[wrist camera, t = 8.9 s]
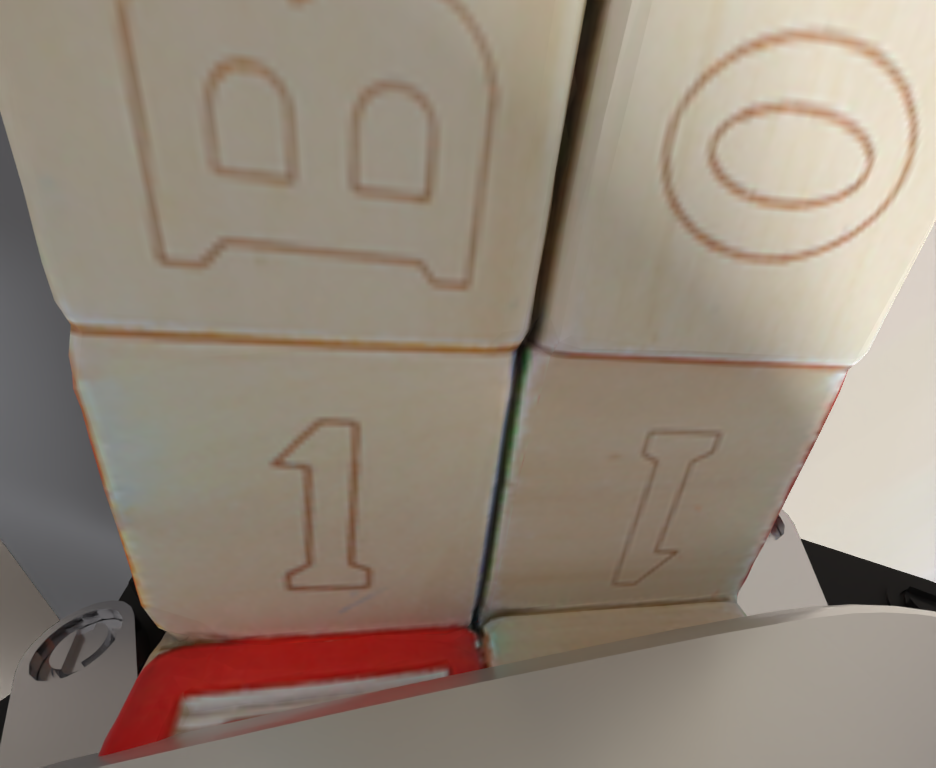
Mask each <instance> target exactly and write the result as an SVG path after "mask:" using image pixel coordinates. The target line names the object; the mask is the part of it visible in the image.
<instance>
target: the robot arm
mask: <svg viewBox="0 0 936 768" xmlns="http://www.w3.org/2000/svg"><path fill="white" fill-rule="evenodd" d="M128 583H129V584H128V586H127V587H126V589H125V590H124V592H123V594H122V595H121V597H120V598H119V600H118V601H115V600H110V601H104V602H99V603H95V604H92V605H90V606H87V607H84V608H82V609H79V610H78V611H76V612H74V613H72V614H70V615H68V616H67V617H65V618H63V619H62V620H60V621H59V622H57V623H56V624H55V625H53V626H52V627H50V628H49V629H48V630H46V631H45V632H44V633H43V634H42V635H41V636H40V637H39V638H38V639H37V640H36V641H35V642H34V643H33V644H32V645H31V646H30V647H29V649H28V650H27V651H26V653H25V654H24V655H23V657H22V658H21V659H20V662H19V664H18V667H17V669H16V671H15V675H14V680H13V684H12V689H11V694H10V695H8V696H7V697H6V698H4V699H3V700H1V701H0V768H936V583H934V582H932V581H929V580H926V579H923V578H920V577H917V576H914V575H911V574H908V573H905V572H901V571H898V570H895V569H892V568H889V567H886V566H883V565H880V564H877V563H874V562H871V561H868V560H865V559H861V558H858V557H855V556H852V555H849V554H846V553H843V552H840V551H837V550H834V549H831V548H828V547H824V546H821V545H818V544H815V543H812V542H809V541H806V540H803V539H800V537H799V534H798V532H797V529H796V527H795V525H794V523H793V521H792V520H791V518H790V517H789V515H788V514H787V513H785V512H784V511H783V510H782V509H781V511H780V513H779V515H778V517H777V519H776V521H775V523H774V525H773V527H772V529H771V531H770V533H769V535H768V538H767V540H766V542H765V544H764V546H763V547H762V549H761V551H760V553H759V555H758V556H757V558H756V560H755V562H754V564H753V566H752V568H751V570H750V572H749V575H748V577H747V579H746V581H745V582H744V584H743V585H742V587H741V589H740V590H739V593H738V596H737V603H738V605H739V606H740V607H741V609H742V610H743V611H744V612H745V614H746V615H747V616H745V617H739V618H734V619H728V620H723V621H718V622H712V623H707V624H701V625H696V626H691V627H685V628H680V629H675V630H670V631H665V632H660V633H655V634H650V635H645V636H640V637H635V638H630V639H626V640H621V641H616V642H611V643H606V644H601V645H596V646H591V647H586V648H581V649H577V650H572V651H567V652H562V653H557V654H552V655H547V656H542V657H537V658H532V659H528V660H523V661H518V662H513V663H509V664H504V665H499V666H494V667H489V668H485V669H480V670H475V671H470V672H465V673H461V674H456V675H451V676H446V677H442V678H437V679H432V680H427V681H423V682H418V683H413V684H408V685H404V686H399V687H394V688H389V689H385V690H380V691H375V692H370V693H366V694H361V695H356V696H351V697H347V698H342V699H337V700H333V701H328V702H323V703H319V704H314V705H310V706H305V707H300V708H296V709H291V710H286V711H282V712H277V713H272V714H268V715H263V716H259V717H254V718H249V719H245V720H240V721H235V722H231V723H226V724H221V725H217V726H212V727H208V728H203V729H198V730H194V731H189V732H184V733H180V734H176V735H174V736H171V737H168V738H165V739H162V740H160V741H157V742H153V743H150V744H146V745H142V746H138V747H135V748H131V749H128V750H124V751H120V752H116V753H112V754H108V755H104V756H98V755H99V753H100V750H101V748H102V745H103V742H104V740H105V738H106V736H107V734H108V733H109V731H110V729H111V727H112V726H113V724H114V722H115V720H116V719H117V717H118V715H119V713H120V711H121V709H122V707H123V705H124V703H125V701H126V699H127V697H128V695H129V693H130V691H131V689H132V687H133V685H134V683H135V681H136V679H137V678H138V676H139V674H140V672H141V670H142V669H143V667H144V665H145V663H146V661H147V660H148V658H149V656H150V654H151V653H152V652H153V651H154V649H155V648H156V647H157V645H158V644H159V643H160V642H161V640H162V638H163V636H164V634H165V632H166V631H164V630H162V629H160V628H158V627H157V625H156V624H155V623H154V621H153V620H152V619H151V618H150V616H149V615H148V614H147V612H146V611H145V610H144V608H143V607H142V606H141V603H140V600H139V597H138V593H137V590H136V587H135V583H134V580H133V577H131V579H130V580H129V582H128Z"/></svg>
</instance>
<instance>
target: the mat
mask: <svg viewBox="0 0 936 768" xmlns="http://www.w3.org/2000/svg"><path fill="white" fill-rule="evenodd" d="M70 329H71V324H70V323H69V321H68V320H67V318H66V317H65V316H64V314H63V313H62V311H61V310H60V308H59V307H58V305H57V304H56V302H55V301H54V298H53V295H52V292H51V289H50V286H49V283H48V280H47V277H46V274H45V271H44V267H43V264H42V261H41V258H40V254H39V250H38V246H37V242H36V238H35V234H34V230H33V226H32V222H31V218H30V214H29V210H28V207H27V203H26V199H25V195H24V191H23V187H22V184H21V180H20V177H19V174H18V170H17V167H16V163H15V160H14V157H13V153H12V150H11V146H10V143H9V140H8V136H7V133H6V129H5V126H4V123H3V119H2V116H1V112H0V539H1V541H2V542H3V543H4V545H5V546H6V547H7V549H8V550H9V552H10V553H11V554H12V556H13V557H14V558H15V560H16V561H17V562H18V564H19V565H20V566H21V568H22V569H23V571H24V572H25V573H26V575H27V576H28V577H29V579H30V580H31V581H32V583H33V584H34V585H35V587H36V588H37V590H38V591H39V592H40V594H41V595H42V596H43V598H44V599H45V600H46V602H47V603H48V604H49V606H50V607H51V608H52V610H53V611H54V613H55V614H56V615H57V617H58V618H59V619H60V620H62V619H63V618H65V617H67V616H68V615H70V614H72V613H74V612H76V611H78V610H79V609H82V608H84V607H87V606H90V605H92V604H95V603H99V602H104V601H110V600H115V601H118V600H119V598H120V597H121V595H122V594H123V592H124V590H125V589H126V587H127V586H128V584H129V583H128V582H129V580H130V579H131V577H132V573H131V570H130V567H129V564H128V561H127V557H126V554H125V551H124V548H123V545H122V542H121V538H120V535H119V532H118V529H117V526H116V523H115V520H114V517H113V514H112V512H111V509H110V506H109V503H108V500H107V497H106V494H105V491H104V487H103V484H102V481H101V477H100V474H99V470H98V467H97V463H96V460H95V457H94V453H93V450H92V446H91V443H90V439H89V436H88V432H87V428H86V425H85V421H84V417H83V413H82V410H81V407H80V404H79V402H78V400H77V397H76V395H75V392H74V390H73V380H72V371H71V365H70V360H69V342H70Z"/></svg>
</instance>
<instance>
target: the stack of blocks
mask: <svg viewBox="0 0 936 768" xmlns="http://www.w3.org/2000/svg"><path fill="white" fill-rule="evenodd" d="M0 112H1V116H2V119H3V123H4V126H5V129H6V133H7V136H8V140H9V143H10V146H11V150H12V153H13V157H14V160H15V163H16V167H17V170H18V174H19V177H20V180H21V184H22V187H23V191H24V195H25V199H26V203H27V207H28V210H29V214H30V218H31V222H32V226H33V230H34V234H35V238H36V242H37V246H38V250H39V254H40V258H41V261H42V264H43V267H44V271H45V274H46V277H47V280H48V283H49V286H50V289H51V292H52V295H53V298H54V301H55V302H56V304H57V305H58V307H59V308H60V310H61V311H62V313H63V314H64V316H65V317H66V318H67V320H68V321H69V323H70V324H71V329H70V342H69V360H70V365H71V371H72V380H73V390H74V392H75V395H76V397H77V400H78V402H79V404H80V407H81V410H82V413H83V417H84V421H85V425H86V428H87V432H88V436H89V439H90V443H91V446H92V450H93V453H94V457H95V460H96V463H97V467H98V470H99V474H100V477H101V481H102V484H103V487H104V491H105V494H106V497H107V500H108V503H109V506H110V509H111V512H112V514H113V517H114V520H115V523H116V526H117V529H118V532H119V535H120V538H121V542H122V545H123V548H124V551H125V554H126V557H127V561H128V564H129V567H130V570H131V573H132V577H133V580H134V583H135V587H136V590H137V593H138V597H139V600H140V603H141V606H142V607H143V608H144V610H145V611H146V612H147V614H148V615H149V616H150V618H151V619H152V620H153V621H154V623H155V624H156V625H157V627H158V628H160V629H162V630H164V631H166V632H165V634H164V636H163V638H162V640H161V642H160V643H159V644H158V645H157V647H156V648H155V649H154V651H153V652H152V653H151V654H150V656H149V658H148V660H147V661H146V663H145V665H144V667H143V669H142V670H141V672H140V674H139V676H138V678H137V679H136V681H135V683H134V685H133V687H132V689H131V691H130V693H129V695H128V697H127V699H126V701H125V703H124V705H123V707H122V709H121V711H120V713H119V715H118V717H117V719H116V720H115V722H114V724H113V726H112V727H111V729H110V731H109V733H108V734H107V736H106V738H105V740H104V742H103V745H102V748H101V750H100V753H99V755H98V756H104V755H108V754H112V753H116V752H120V751H124V750H128V749H131V748H135V747H138V746H142V745H146V744H150V743H153V742H157V741H160V740H162V739H165V738H168V737H171V736H174V735H176V734H180V733H184V732H189V731H194V730H198V729H203V728H208V727H212V726H217V725H221V724H226V723H231V722H235V721H240V720H245V719H249V718H254V717H259V716H263V715H268V714H272V713H277V712H282V711H286V710H291V709H296V708H300V707H305V706H310V705H314V704H319V703H323V702H328V701H333V700H337V699H342V698H347V697H351V696H356V695H361V694H366V693H370V692H375V691H380V690H385V689H389V688H394V687H399V686H404V685H408V684H413V683H418V682H423V681H427V680H432V679H437V678H442V677H446V676H451V675H456V674H461V673H465V672H470V671H475V670H480V669H485V668H489V667H494V666H499V665H504V664H509V663H513V662H518V661H523V660H528V659H532V658H537V657H542V656H547V655H552V654H557V653H562V652H567V651H572V650H577V649H581V648H586V647H591V646H596V645H601V644H606V643H611V642H616V641H621V640H626V639H630V638H635V637H640V636H645V635H650V634H655V633H660V632H665V631H670V630H675V629H680V628H685V627H691V626H696V625H701V624H707V623H712V622H718V621H723V620H728V619H734V618H739V617H745V616H747V615H746V614H745V612H744V611H743V610H742V609H741V607H740V606H739V605H738V603H737V596H738V593H739V590H740V589H741V587H742V585H743V584H744V582H745V581H746V579H747V577H748V575H749V572H750V570H751V568H752V566H753V564H754V562H755V560H756V558H757V556H758V555H759V553H760V551H761V549H762V547H763V546H764V544H765V542H766V540H767V538H768V535H769V533H770V531H771V529H772V527H773V525H774V523H775V521H776V519H777V517H778V515H779V513H780V511H781V509H782V507H783V505H784V503H785V501H786V499H787V497H788V495H789V493H790V491H791V489H792V487H793V485H794V483H795V481H796V479H797V477H798V475H799V473H800V471H801V469H802V467H803V465H804V463H805V461H806V459H807V457H808V455H809V453H810V451H811V449H812V447H813V445H814V443H815V442H816V440H817V438H818V436H819V434H820V432H821V429H822V427H823V425H824V423H825V421H826V419H827V417H828V415H829V413H830V411H831V409H832V407H833V405H834V403H835V401H836V398H837V396H838V394H839V392H840V390H841V387H842V385H843V382H844V379H845V377H846V374H847V372H848V369H850V368H851V367H852V366H853V365H854V364H856V363H857V362H858V361H859V360H861V359H862V358H863V357H864V356H865V355H866V354H867V352H868V351H869V349H870V347H871V345H872V343H873V341H874V339H875V337H876V335H877V333H878V331H879V329H880V327H881V325H882V323H883V321H884V319H885V317H886V315H887V313H888V311H889V310H890V308H891V306H892V304H893V302H894V300H895V298H896V296H897V294H898V292H899V290H900V288H901V286H902V285H903V283H904V281H905V279H906V277H907V275H908V273H909V271H910V269H911V267H912V265H913V263H914V261H915V260H916V258H917V256H918V254H919V252H920V250H921V248H922V246H923V244H924V242H925V240H926V238H927V236H928V235H929V233H930V231H931V229H932V227H933V225H934V223H935V221H936V0H0Z"/></svg>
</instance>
